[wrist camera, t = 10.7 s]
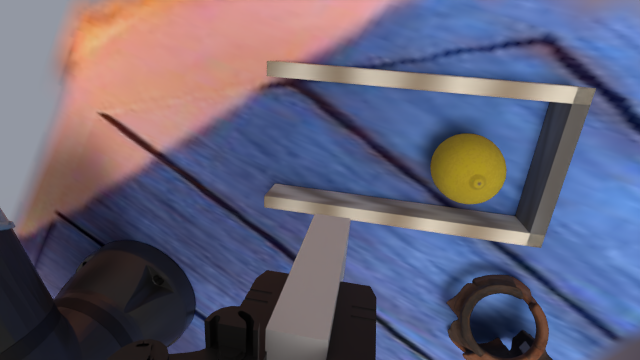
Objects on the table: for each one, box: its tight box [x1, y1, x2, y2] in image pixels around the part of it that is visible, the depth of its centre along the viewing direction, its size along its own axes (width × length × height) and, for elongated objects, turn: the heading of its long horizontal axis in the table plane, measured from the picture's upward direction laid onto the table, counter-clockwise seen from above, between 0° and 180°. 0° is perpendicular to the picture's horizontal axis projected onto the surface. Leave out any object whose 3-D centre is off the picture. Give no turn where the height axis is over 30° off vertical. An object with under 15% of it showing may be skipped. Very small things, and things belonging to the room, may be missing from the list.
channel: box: [264, 61, 596, 248], centre depth 30 cm, size 25×13×4 cm, turn 86°
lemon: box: [430, 133, 506, 204], centre depth 28 cm, size 6×6×8 cm
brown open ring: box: [447, 275, 553, 360], centre depth 34 cm, size 12×10×8 cm
